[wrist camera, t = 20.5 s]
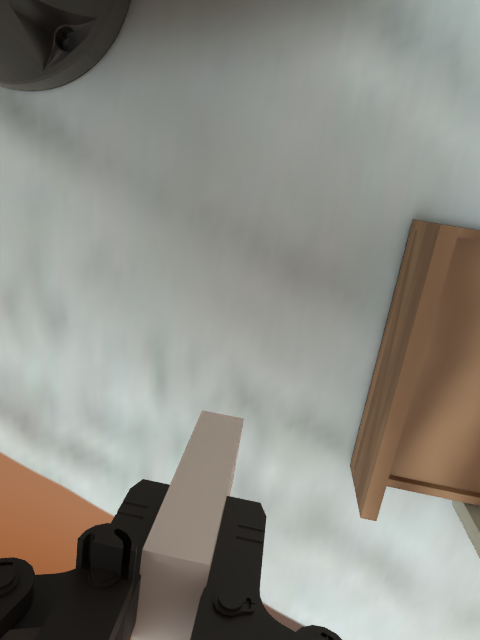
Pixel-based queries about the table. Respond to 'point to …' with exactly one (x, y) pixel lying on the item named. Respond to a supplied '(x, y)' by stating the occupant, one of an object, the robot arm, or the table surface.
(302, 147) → the table surface
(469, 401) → the tray
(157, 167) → the table surface
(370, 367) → the table surface
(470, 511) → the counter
